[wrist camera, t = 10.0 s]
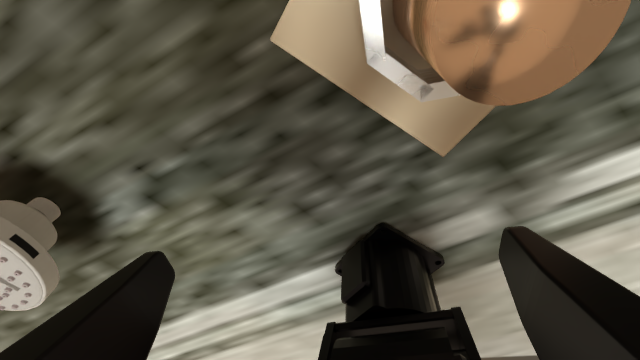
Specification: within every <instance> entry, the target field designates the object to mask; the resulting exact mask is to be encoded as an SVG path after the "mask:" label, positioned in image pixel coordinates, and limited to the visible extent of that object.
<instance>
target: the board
mask: <svg viewBox="0 0 640 360" xmlns="http://www.w3.org/2000/svg"><path fill="white" fill-rule="evenodd" d="M380 8H381V18H382V28H383V38H384V45H385V46H386V47H388V48H389V49H390V50H392V51H393V52H394V53H396V54H397V55H398V56H400V57H401V58H402V59H404V60H405V61H406V62H408V63H409V64H410V65H412V66H413V67H414V68H416V69H417V70H421V69H426V68H431V66H430V64H429V63H428V62H427V61H426V60H425V59H424V58H423V57H422V56H421V55H420V54H419V53H418V52H417V51H416V50H415V49H414V48H413V47H412V46H411V45H410V44H409V43H408V41H407V40H406V39H405V38H404V37H403V36H402V35H401V33H400V32H399V30H398V28H397V26H396V23H395V19H394V15H393V0H380ZM270 41H272V42H273V43H275V44H276V45H278V46H279V47H281V48H282V49H284V50H285V51H287V52H288V53H290V54H291V55H293V56H294V57H296V58H297V59H299V60H300V61H302V62H303V63H305V64H306V65H307V66H309V67H310V68H312V69H313V70H315V71H316V72H318V73H319V74H321V75H322V76H324V77H325V78H327V79H328V80H330V81H331V82H333V83H334V84H336V85H337V86H339V87H340V88H342V89H343V90H345V91H346V92H348V93H349V94H351V95H352V96H354V97H355V98H356V99H358V100H359V101H361V102H362V103H364V104H365V105H367V106H368V107H370V108H371V109H373V110H374V111H376V112H377V113H379V114H380V115H382V116H383V117H385V118H386V119H388V120H389V121H391V122H392V123H394V124H395V125H397V126H398V127H400V128H401V129H403V130H404V131H406V132H407V133H408V134H410V135H411V136H413V137H414V138H416V139H417V140H419V141H420V142H422V143H423V144H425V145H426V146H428V147H429V148H431V149H432V150H434V151H435V152H437V153H438V154H440V155H441V156H443V157H444V156H445V155H446V154H447V153H448V152H449V151H450V150H451V149H452V148H453V147H454V146H455V145H456V144H457V143H458V142H459V141H460V140H461V139H462V138H463V137H464V136H465V135H466V134H467V133H469V132H470V131H471V130H472V129H473V128H474V127H475V126H476V125H477V124H478V123H479V122H480V121H481V120H482V119H483V118H484V117H485V116H486V115H487V114H488V113H489V112H490V111H491V110H492V109H493V108H494V107H495V106H494V105H486V104H481V103H478V102H474V101H472V100H470V99H467V98H465V97H464V96H462V95H460V96H454V97H448V98H443V99H437V100H432V101H426V102H420V101H419V100H417V99H416V98H415V97H413V96H412V95H410V94H409V93H408V92H406V91H405V90H403V89H402V88H401V87H399V86H398V85H396V84H395V83H394V82H392V81H391V80H389V79H388V78H387V77H385V76H384V75H382V74H381V73H380V72H378V71H377V70H375V69H374V68H373V67H371V66H370V65H368V64H367V61H366V56H365V48H364V40H363V33H362V25H361V18H360V11H359V3H358V0H289V2H288V4H287V6H286V8H285V10H284V12H283V14H282V16H281V18H280V20H279V22H278V24H277V26H276V28H275V30H274V32H273V34H272V36H271V38H270Z"/></svg>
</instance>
